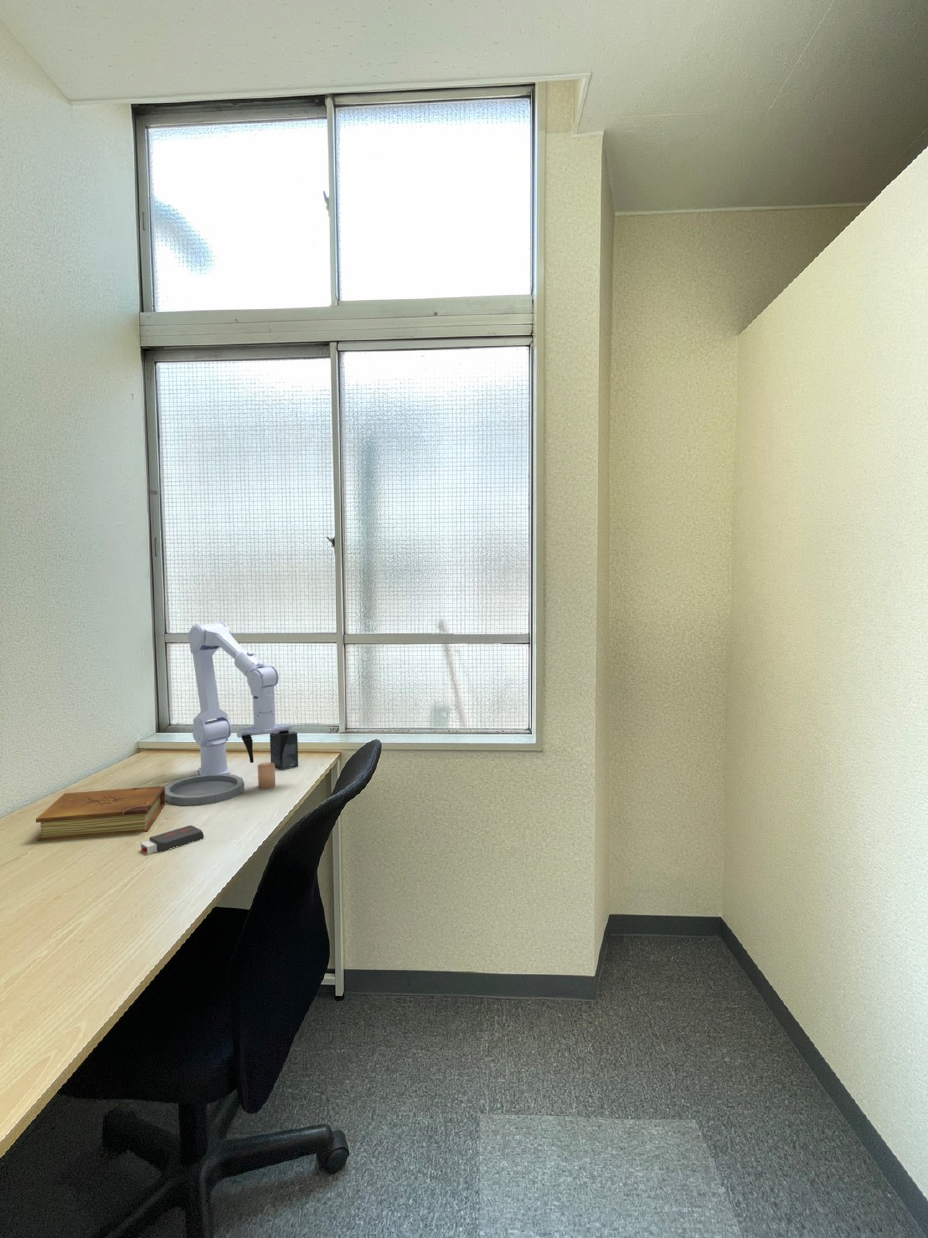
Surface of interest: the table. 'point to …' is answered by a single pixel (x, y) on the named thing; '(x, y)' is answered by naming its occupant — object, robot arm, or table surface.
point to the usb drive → (172, 839)
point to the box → (289, 751)
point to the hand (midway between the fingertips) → (266, 760)
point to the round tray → (203, 789)
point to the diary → (102, 813)
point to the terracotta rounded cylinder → (266, 775)
